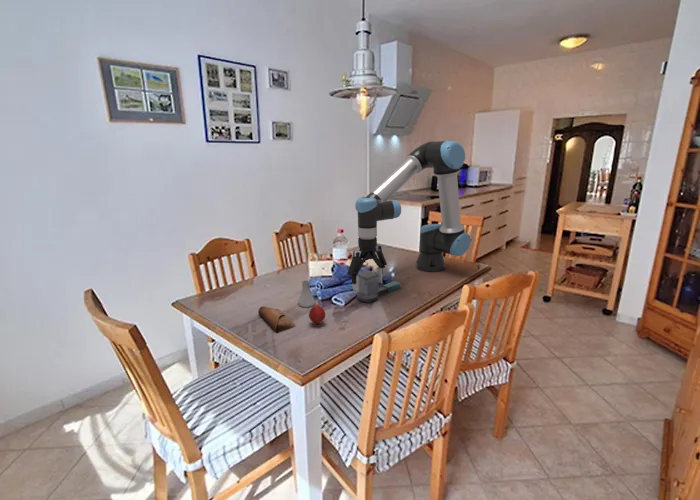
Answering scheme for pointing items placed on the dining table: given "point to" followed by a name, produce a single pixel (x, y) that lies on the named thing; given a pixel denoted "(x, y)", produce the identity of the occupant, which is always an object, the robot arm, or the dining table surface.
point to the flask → (306, 295)
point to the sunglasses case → (276, 319)
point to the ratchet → (382, 290)
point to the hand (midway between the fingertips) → (367, 286)
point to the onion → (317, 314)
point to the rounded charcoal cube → (368, 283)
